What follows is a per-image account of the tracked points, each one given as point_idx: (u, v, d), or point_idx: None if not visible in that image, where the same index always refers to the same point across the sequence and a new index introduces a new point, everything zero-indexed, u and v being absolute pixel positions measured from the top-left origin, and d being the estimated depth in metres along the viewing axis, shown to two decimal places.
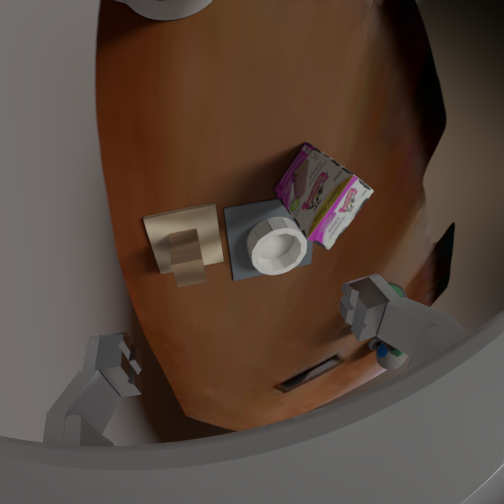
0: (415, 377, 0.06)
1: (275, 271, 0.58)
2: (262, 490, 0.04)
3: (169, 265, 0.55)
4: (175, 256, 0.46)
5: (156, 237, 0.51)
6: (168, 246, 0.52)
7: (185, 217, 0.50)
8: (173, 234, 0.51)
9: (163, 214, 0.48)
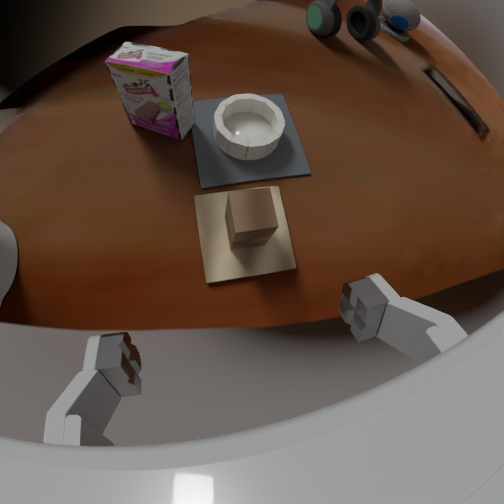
0: (416, 377, 0.06)
1: (279, 120, 0.42)
2: (262, 490, 0.04)
3: (282, 254, 0.42)
4: (232, 230, 0.34)
5: (235, 267, 0.40)
6: (250, 253, 0.41)
7: (208, 230, 0.41)
8: (229, 245, 0.40)
9: None
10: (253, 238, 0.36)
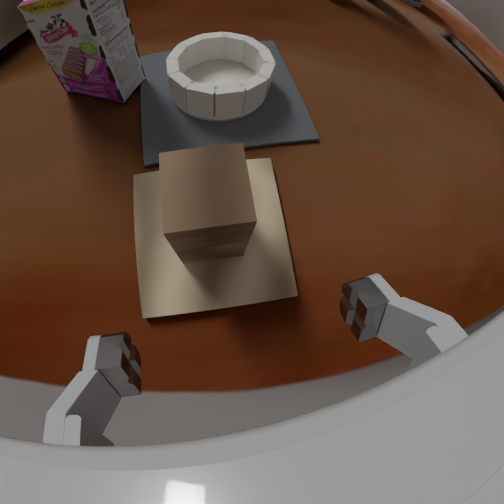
0: (416, 376, 0.06)
1: (265, 60, 0.25)
2: (262, 490, 0.04)
3: (273, 272, 0.24)
4: None
5: (190, 294, 0.23)
6: (217, 270, 0.23)
7: (149, 229, 0.24)
8: None
9: None
10: (213, 245, 0.19)
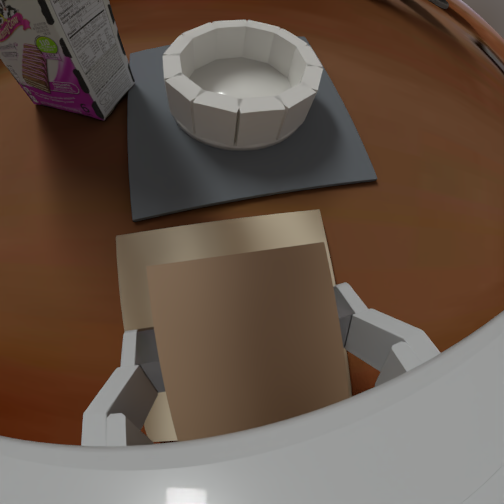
0: (416, 376, 0.06)
1: (309, 63, 0.17)
2: (263, 490, 0.04)
3: None
4: None
5: None
6: None
7: (144, 325, 0.15)
8: None
9: None
10: None
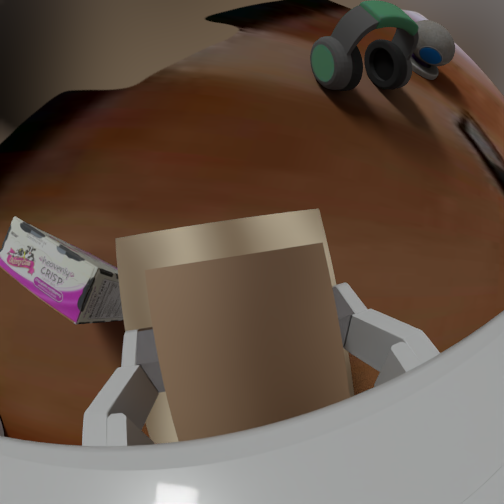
0: (416, 377, 0.06)
1: None
2: (262, 490, 0.04)
3: None
4: None
5: None
6: None
7: (145, 327, 0.15)
8: None
9: None
10: None
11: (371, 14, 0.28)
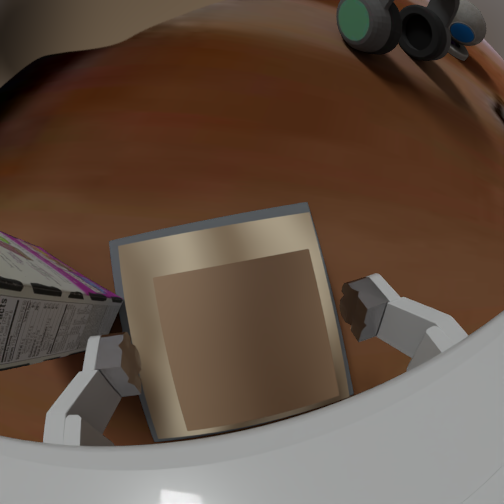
0: (416, 376, 0.06)
1: None
2: (262, 490, 0.04)
3: None
4: None
5: None
6: None
7: (149, 329, 0.16)
8: None
9: None
10: None
11: None
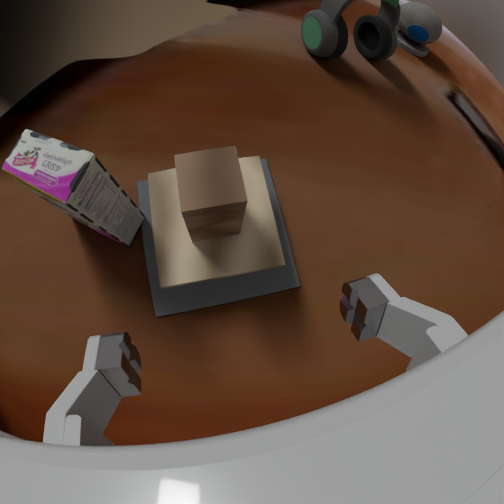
0: (416, 377, 0.06)
1: None
2: (262, 490, 0.04)
3: (264, 246, 0.30)
4: None
5: (199, 266, 0.29)
6: (220, 246, 0.30)
7: (163, 216, 0.30)
8: None
9: (156, 252, 0.29)
10: (216, 222, 0.25)
11: None
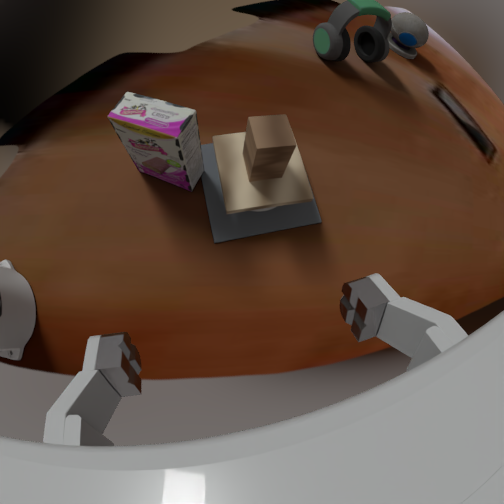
0: (416, 377, 0.06)
1: None
2: (262, 490, 0.04)
3: (299, 186, 0.42)
4: (253, 151, 0.34)
5: (254, 197, 0.41)
6: (268, 184, 0.41)
7: (226, 164, 0.41)
8: (248, 176, 0.41)
9: (222, 188, 0.41)
10: (272, 162, 0.37)
11: (355, 6, 0.41)
